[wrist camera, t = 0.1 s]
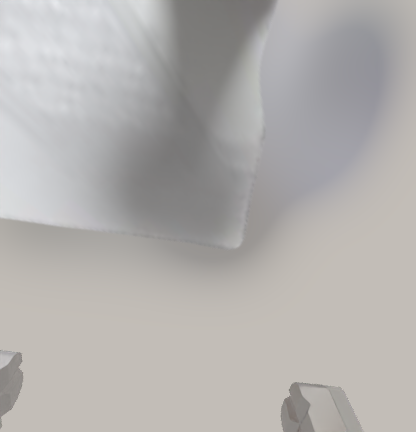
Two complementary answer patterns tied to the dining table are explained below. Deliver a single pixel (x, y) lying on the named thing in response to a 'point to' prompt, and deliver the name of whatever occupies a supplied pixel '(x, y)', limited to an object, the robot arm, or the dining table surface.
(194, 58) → the dining table surface
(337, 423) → the robot arm
